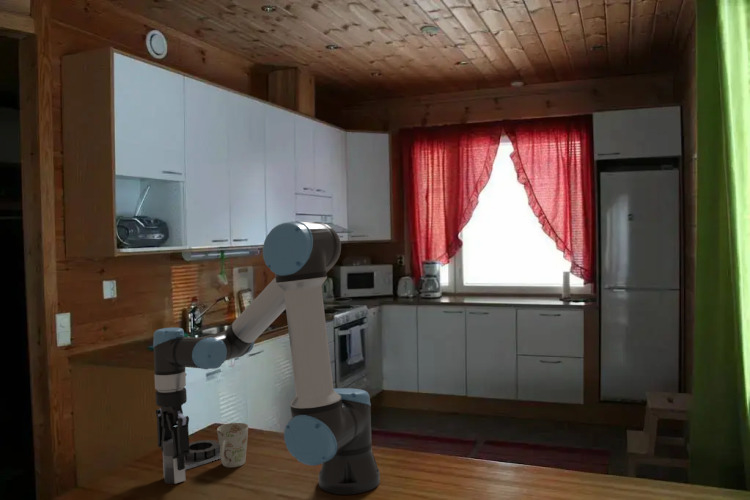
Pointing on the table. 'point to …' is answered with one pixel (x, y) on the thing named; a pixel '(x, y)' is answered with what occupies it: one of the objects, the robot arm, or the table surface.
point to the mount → (202, 453)
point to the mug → (233, 443)
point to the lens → (168, 461)
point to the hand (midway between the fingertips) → (174, 478)
